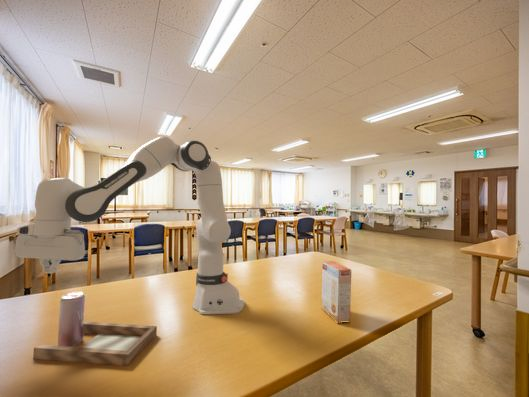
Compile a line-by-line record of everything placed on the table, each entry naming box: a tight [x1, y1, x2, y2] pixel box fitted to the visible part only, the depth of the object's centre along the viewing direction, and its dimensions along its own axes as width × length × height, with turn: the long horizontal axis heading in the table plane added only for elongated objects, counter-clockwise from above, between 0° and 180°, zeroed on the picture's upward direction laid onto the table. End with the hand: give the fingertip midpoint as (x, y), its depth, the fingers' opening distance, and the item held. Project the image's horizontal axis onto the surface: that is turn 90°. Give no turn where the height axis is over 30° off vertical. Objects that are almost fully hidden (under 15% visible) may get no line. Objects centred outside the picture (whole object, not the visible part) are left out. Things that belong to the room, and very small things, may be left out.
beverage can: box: [57, 291, 86, 347], centre depth 73 cm, size 6×6×15 cm
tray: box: [32, 321, 158, 367], centre depth 72 cm, size 28×15×3 cm, turn 86°
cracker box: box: [321, 260, 352, 322], centre depth 98 cm, size 14×6×21 cm, turn 12°
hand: (49, 272), depth 74 cm, fingers closed
